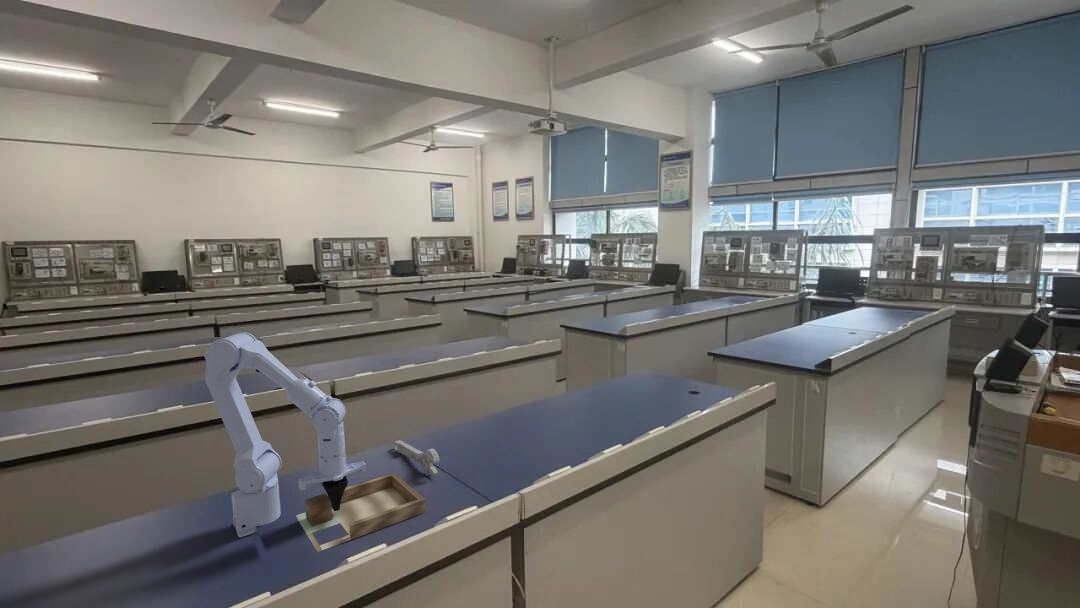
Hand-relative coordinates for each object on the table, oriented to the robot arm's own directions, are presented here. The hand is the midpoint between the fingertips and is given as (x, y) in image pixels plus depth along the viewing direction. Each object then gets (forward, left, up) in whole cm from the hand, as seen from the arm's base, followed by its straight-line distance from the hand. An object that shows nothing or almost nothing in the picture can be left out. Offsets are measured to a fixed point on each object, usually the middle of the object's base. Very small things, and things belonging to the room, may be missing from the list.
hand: (335, 508), depth 116 cm
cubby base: (+4, -4, -2) cm, 6 cm away
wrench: (+27, +15, -3) cm, 31 cm away
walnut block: (-4, 0, -1) cm, 4 cm away
